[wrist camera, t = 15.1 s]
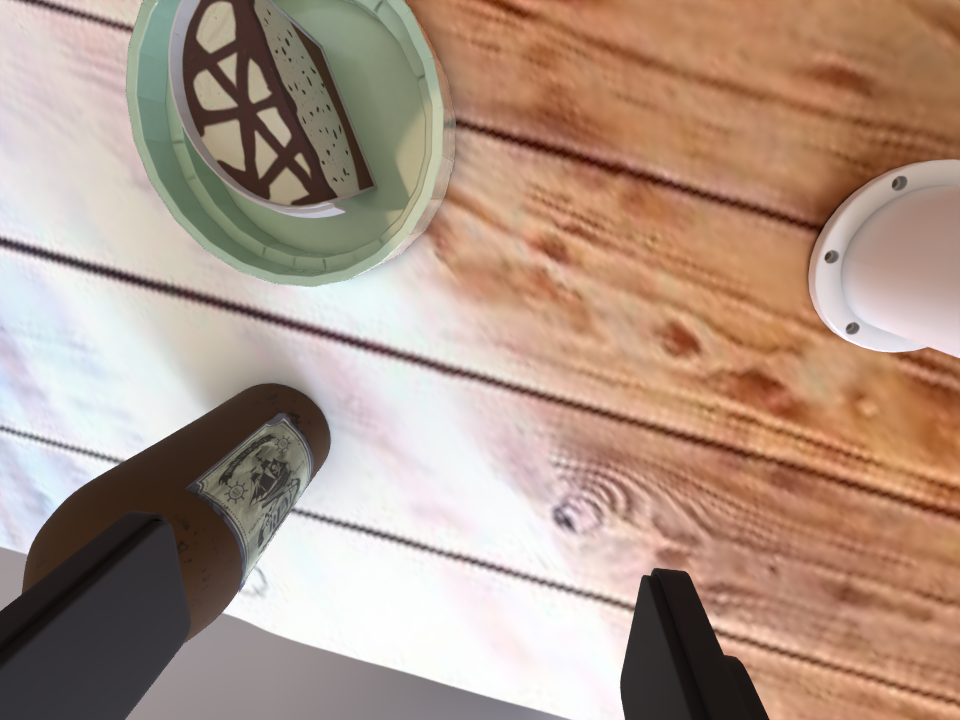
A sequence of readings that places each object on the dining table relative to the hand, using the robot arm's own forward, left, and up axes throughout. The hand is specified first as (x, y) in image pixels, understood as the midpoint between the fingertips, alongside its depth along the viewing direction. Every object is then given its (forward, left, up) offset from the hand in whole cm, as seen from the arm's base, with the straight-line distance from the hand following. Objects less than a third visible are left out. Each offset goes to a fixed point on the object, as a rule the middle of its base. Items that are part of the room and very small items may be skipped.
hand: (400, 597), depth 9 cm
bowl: (+13, -11, -28) cm, 33 cm away
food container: (+13, -11, -28) cm, 33 cm away
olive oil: (+18, +13, -28) cm, 36 cm away
